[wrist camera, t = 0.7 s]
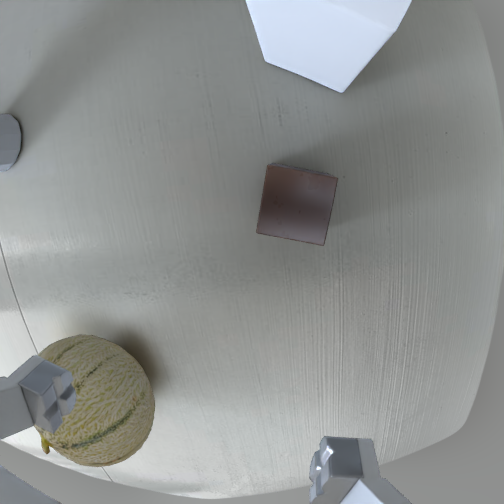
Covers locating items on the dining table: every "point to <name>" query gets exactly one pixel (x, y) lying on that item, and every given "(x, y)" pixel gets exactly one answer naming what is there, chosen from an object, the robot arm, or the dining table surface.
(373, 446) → the robot arm
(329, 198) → the walnut block
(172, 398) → the dining table surface
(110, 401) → the cantaloupe
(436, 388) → the dining table surface
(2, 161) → the water bottle
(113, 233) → the dining table surface
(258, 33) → the milk carton
